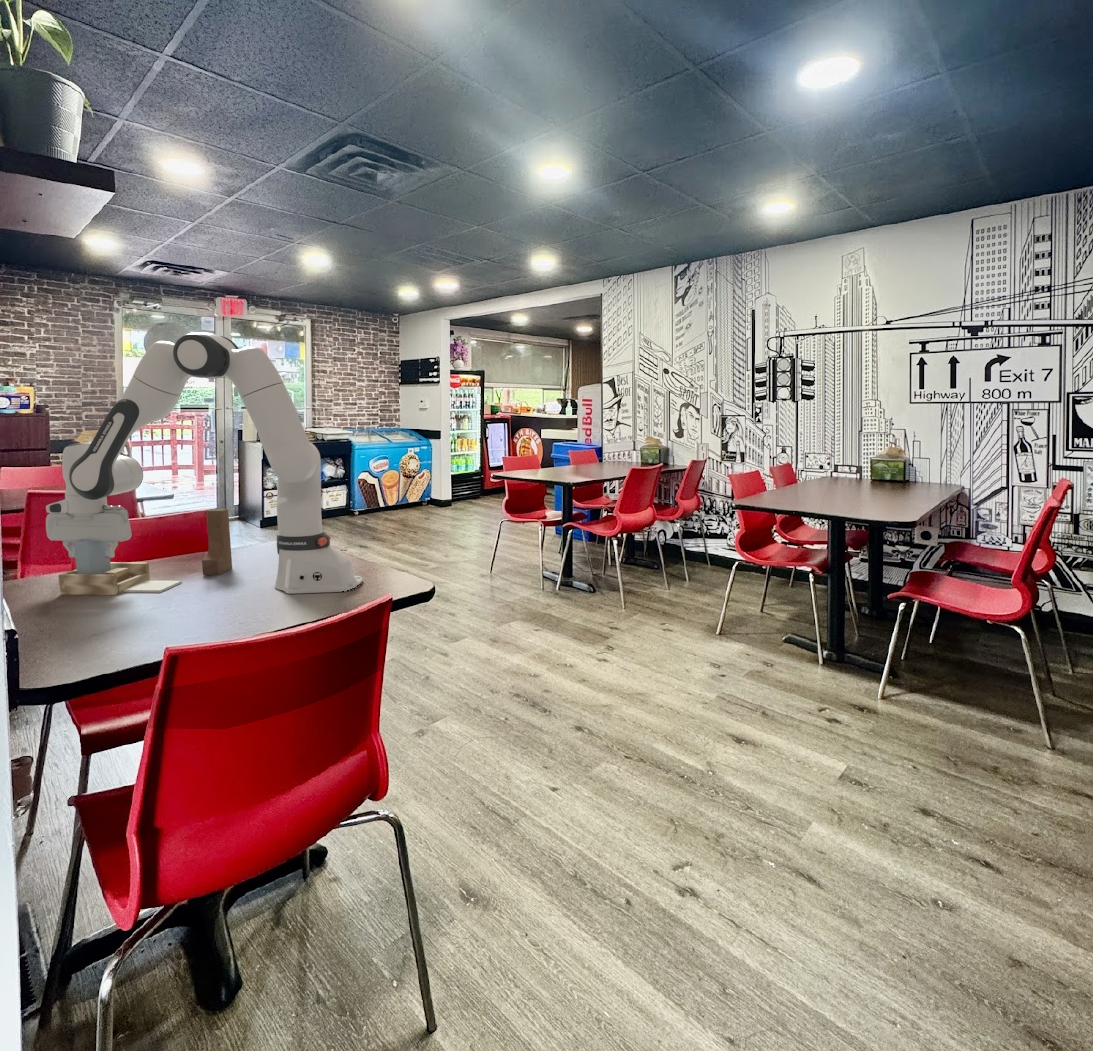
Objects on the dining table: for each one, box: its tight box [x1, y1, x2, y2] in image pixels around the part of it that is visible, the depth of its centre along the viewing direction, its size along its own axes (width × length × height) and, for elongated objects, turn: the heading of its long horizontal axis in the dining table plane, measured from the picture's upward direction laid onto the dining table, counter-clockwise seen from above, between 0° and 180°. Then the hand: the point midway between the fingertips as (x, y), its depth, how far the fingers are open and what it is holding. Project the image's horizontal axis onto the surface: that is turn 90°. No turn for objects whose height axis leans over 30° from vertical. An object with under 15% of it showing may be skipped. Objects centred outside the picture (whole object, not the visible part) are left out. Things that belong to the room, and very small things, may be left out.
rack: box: [57, 561, 151, 596], centre depth 177 cm, size 14×15×5 cm
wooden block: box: [201, 508, 233, 576], centre depth 193 cm, size 9×4×18 cm, turn 0°
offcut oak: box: [103, 568, 129, 581], centre depth 177 cm, size 3×6×2 cm, turn 178°
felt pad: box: [122, 579, 182, 594], centre depth 177 cm, size 10×10×1 cm
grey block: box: [73, 540, 111, 574], centre depth 176 cm, size 4×8×13 cm, turn 0°
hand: (92, 557), depth 176 cm, fingers open, 8 cm apart
